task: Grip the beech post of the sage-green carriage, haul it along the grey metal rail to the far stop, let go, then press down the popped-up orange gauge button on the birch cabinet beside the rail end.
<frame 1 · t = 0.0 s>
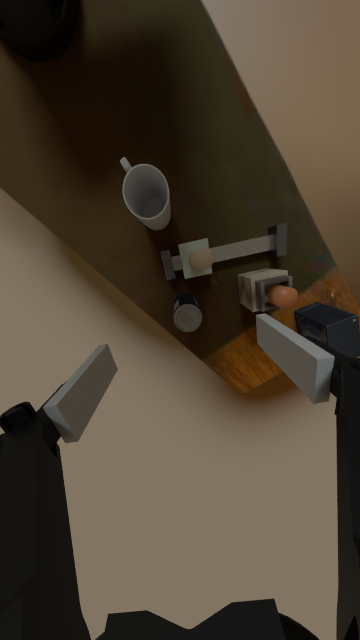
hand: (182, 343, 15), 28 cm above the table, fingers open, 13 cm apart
mug: (151, 207, 35), on the table
beverage can: (185, 303, 42), on the table
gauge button: (281, 296, 29), point 12 cm above the table, slide at 2.5 cm
rail: (219, 253, 38), on the table
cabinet: (252, 286, 41), on the table
carriage: (197, 259, 32), point 8 cm above the table, slide at 0.0 cm
small box: (307, 323, 45), on the table
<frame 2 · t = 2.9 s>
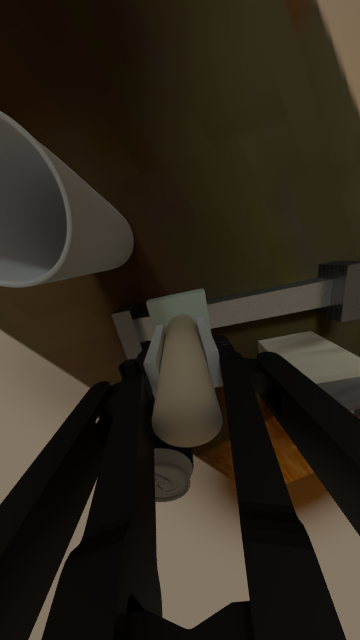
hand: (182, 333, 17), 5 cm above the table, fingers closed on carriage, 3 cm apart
mug: (95, 226, 18), on the table
beverage can: (168, 382, 25), on the table
rail: (227, 307, 21), on the table
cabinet: (283, 357, 24), on the table
carriage: (182, 345, 14), point 8 cm above the table, slide at 0.0 cm, touching gripper
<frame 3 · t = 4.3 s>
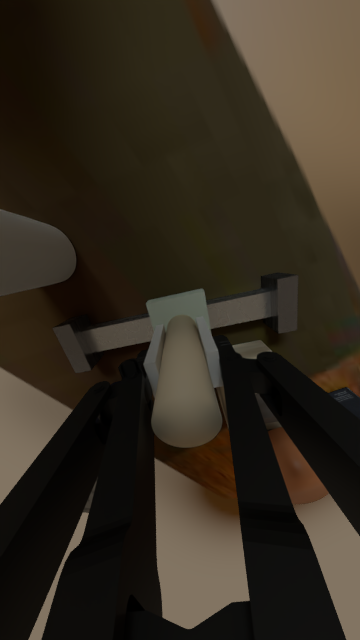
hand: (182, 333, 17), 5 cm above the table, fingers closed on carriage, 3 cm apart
mug: (38, 242, 19), on the table
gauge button: (291, 463, 13), point 12 cm above the table, slide at 2.5 cm
rail: (176, 318, 21), on the table
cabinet: (237, 366, 24), on the table
carriage: (182, 345, 14), point 8 cm above the table, slide at 6.7 cm, touching gripper
small box: (328, 414, 28), on the table
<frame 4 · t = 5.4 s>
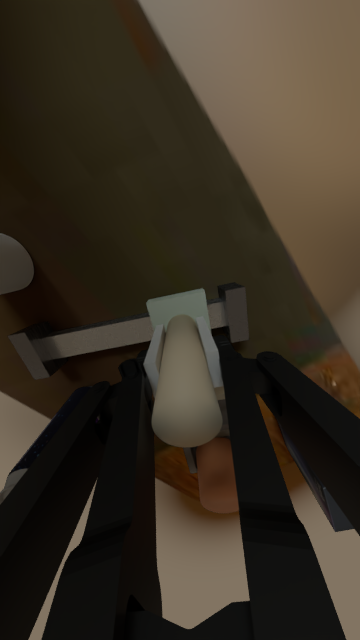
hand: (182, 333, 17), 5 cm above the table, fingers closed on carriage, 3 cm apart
beverage can: (94, 396, 26), on the table
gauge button: (221, 472, 13), point 12 cm above the table, slide at 2.5 cm
rail: (137, 326, 22), on the table
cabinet: (201, 372, 24), on the table
carriage: (182, 345, 14), point 8 cm above the table, slide at 11.9 cm, touching gripper
small box: (295, 419, 28), on the table
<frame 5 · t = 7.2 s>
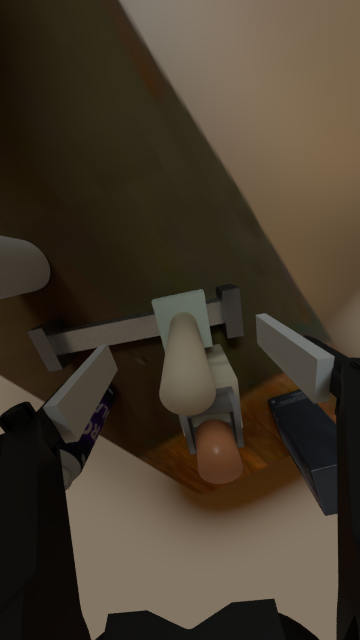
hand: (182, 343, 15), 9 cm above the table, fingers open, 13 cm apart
mug: (16, 255, 21), on the table
beverage can: (101, 389, 28), on the table
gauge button: (216, 450, 15), point 12 cm above the table, slide at 2.5 cm
rail: (141, 323, 24), on the table
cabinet: (200, 367, 26), on the table
carriage: (184, 338, 16), point 8 cm above the table, slide at 12.0 cm
small box: (289, 413, 30), on the table
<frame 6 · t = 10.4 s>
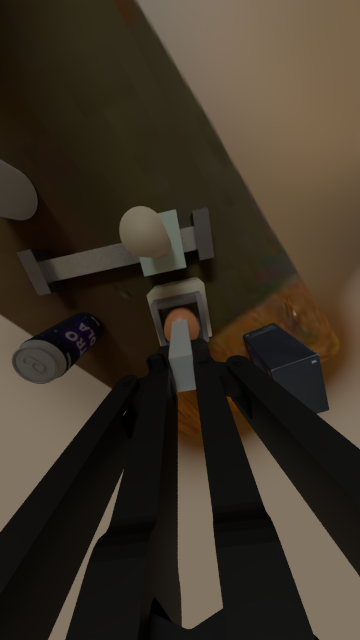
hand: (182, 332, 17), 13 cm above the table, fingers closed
mug: (5, 184, 23), on the table
beverage can: (89, 325, 30), on the table
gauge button: (181, 325, 18), point 11 cm above the table, slide at 1.1 cm, touching gripper
rail: (124, 255, 26), on the table
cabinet: (180, 301, 29), on the table
carriage: (155, 242, 19), point 8 cm above the table, slide at 12.0 cm
small box: (264, 350, 32), on the table
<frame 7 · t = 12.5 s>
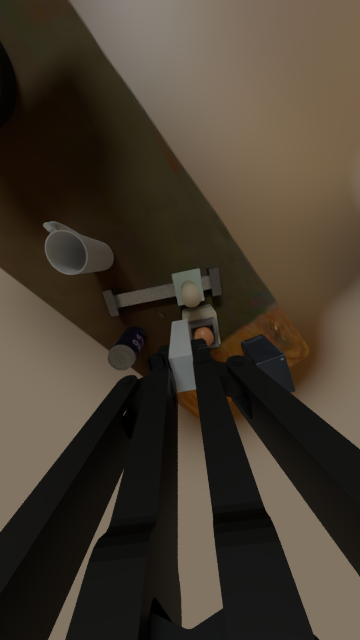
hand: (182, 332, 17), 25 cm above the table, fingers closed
mug: (95, 250, 38), on the table
beverage can: (135, 335, 45), on the table
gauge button: (203, 335, 33), point 10 cm above the table, slide at 0.4 cm
rail: (163, 290, 41), on the table
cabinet: (198, 319, 43), on the table
carriage: (189, 290, 33), point 8 cm above the table, slide at 12.0 cm
small box: (255, 353, 46), on the table
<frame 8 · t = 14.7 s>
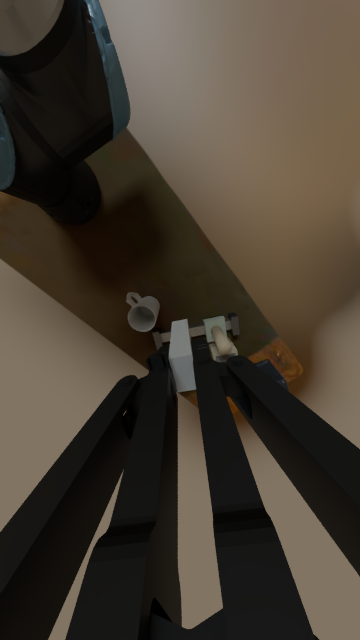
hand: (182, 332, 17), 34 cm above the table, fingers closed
mug: (146, 301, 51), on the table
rail: (195, 329, 54), on the table
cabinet: (219, 349, 57), on the table
carriage: (218, 335, 47), point 8 cm above the table, slide at 12.0 cm
small box: (262, 372, 60), on the table
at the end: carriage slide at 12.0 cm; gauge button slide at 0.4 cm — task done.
